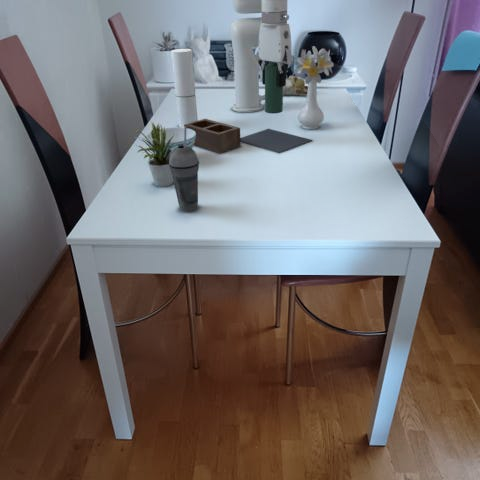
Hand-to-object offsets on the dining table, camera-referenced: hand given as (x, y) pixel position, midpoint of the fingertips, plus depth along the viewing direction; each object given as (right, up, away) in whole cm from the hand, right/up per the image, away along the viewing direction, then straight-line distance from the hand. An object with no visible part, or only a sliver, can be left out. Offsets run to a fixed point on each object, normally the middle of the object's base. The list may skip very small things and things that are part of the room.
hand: (274, 84), depth 155 cm
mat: (+1, -14, +11) cm, 18 cm away
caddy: (-20, -16, +10) cm, 27 cm away
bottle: (0, -6, +5) cm, 8 cm away
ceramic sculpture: (+13, +25, +61) cm, 67 cm away
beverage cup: (-24, -46, -31) cm, 61 cm away
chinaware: (-31, -24, -1) cm, 40 cm away
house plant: (-33, -36, -16) cm, 51 cm away
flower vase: (+15, -5, +21) cm, 27 cm away
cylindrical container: (-30, -2, +29) cm, 42 cm away
